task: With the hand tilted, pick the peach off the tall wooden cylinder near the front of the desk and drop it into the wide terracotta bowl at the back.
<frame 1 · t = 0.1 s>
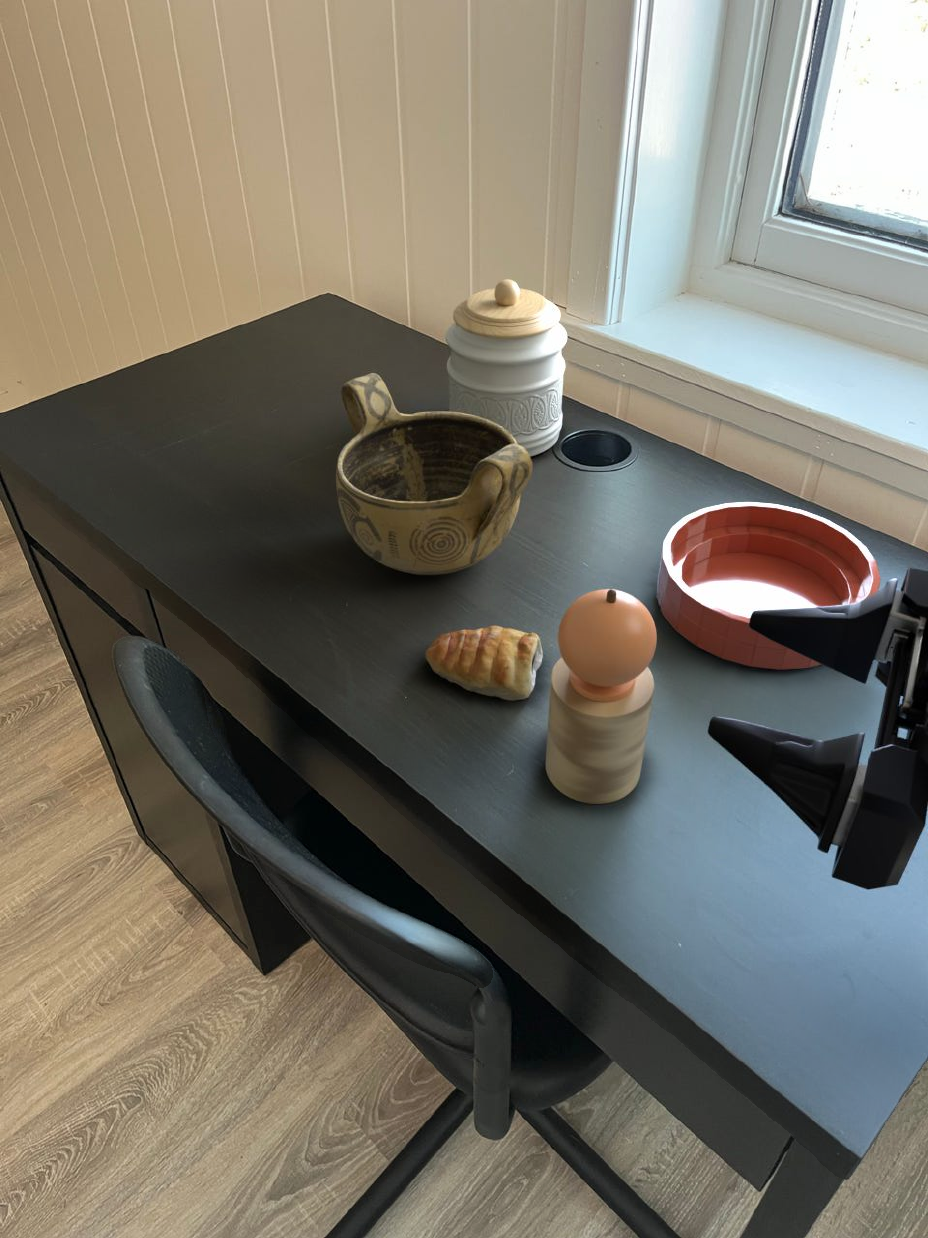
hand: (731, 668, 51), 19 cm above the table, tool horizontal, fingers open, 9 cm apart
peach: (602, 679, 64), point 9 cm above the table, touching wooden cylinder
pastry: (491, 675, 78), on the table
wooden cylinder: (592, 766, 70), on the table
ceramic bowl: (433, 554, 91), on the table
bowl: (758, 605, 84), on the table
jar: (504, 434, 108), on the table
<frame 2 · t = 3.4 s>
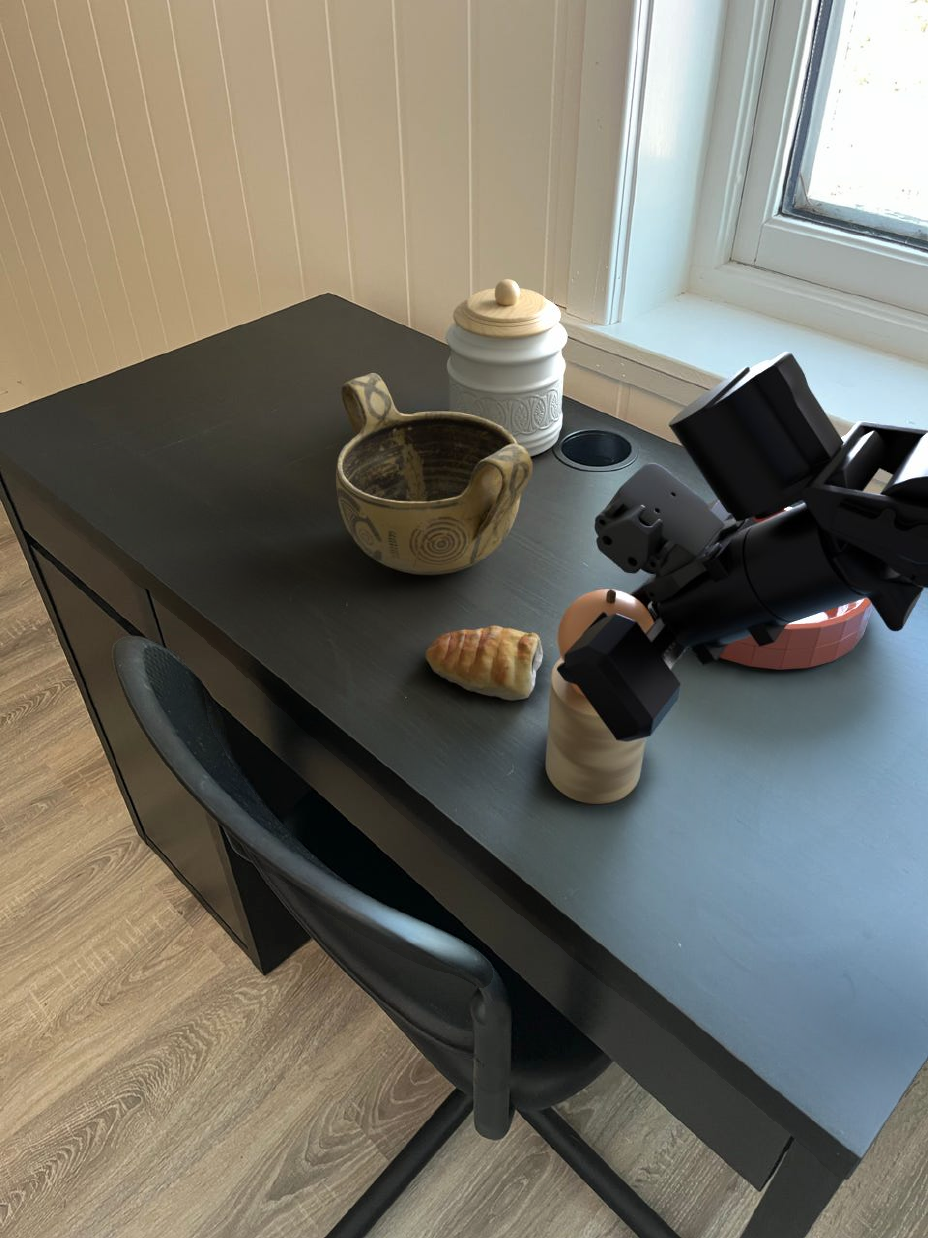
hand: (587, 645, 63), 11 cm above the table, tool tilted 45°, fingers closed on peach, 6 cm apart
peach: (602, 679, 64), point 9 cm above the table, touching wooden cylinder, gripper
everything else where it was.
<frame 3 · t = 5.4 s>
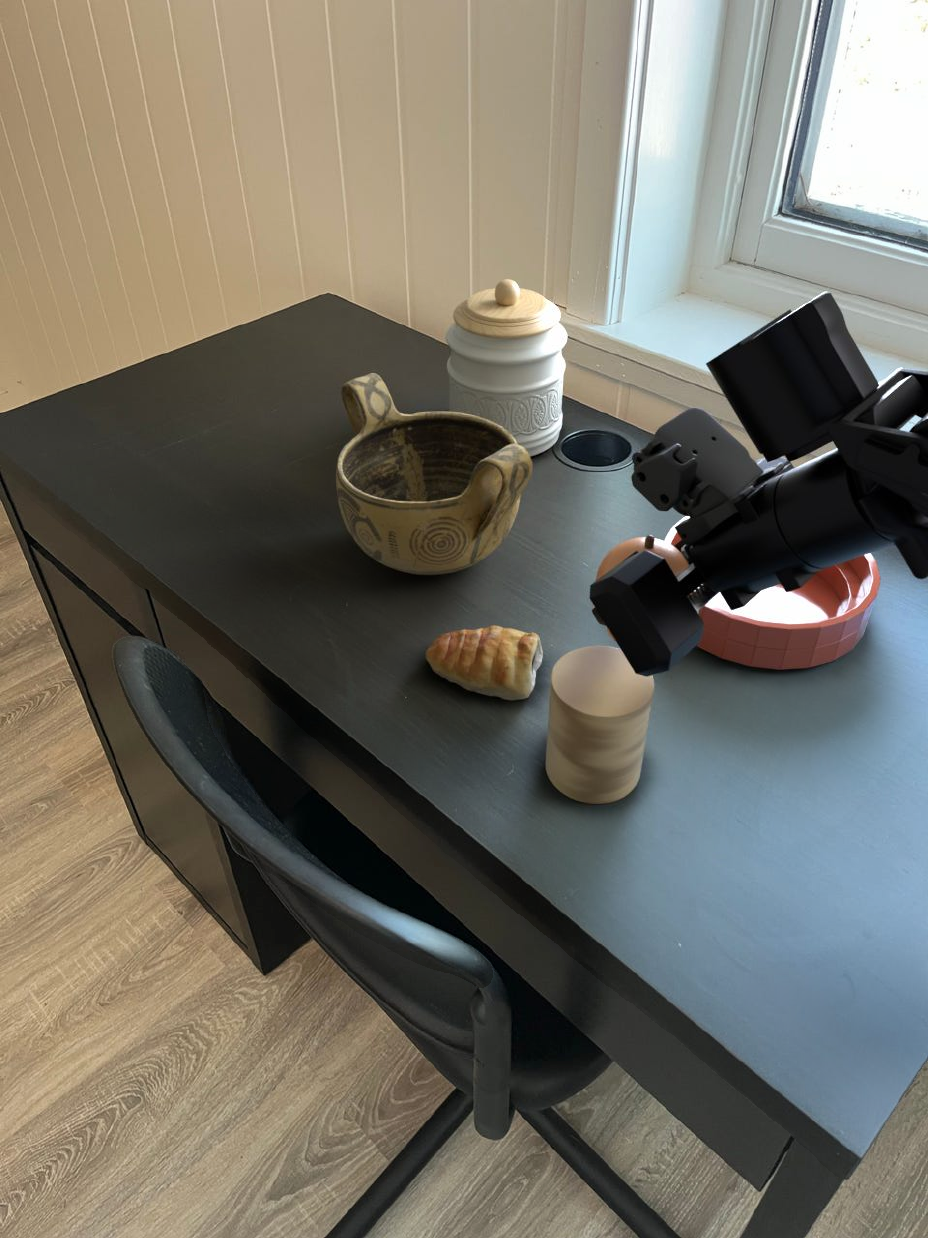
hand: (625, 592, 64), 13 cm above the table, tool tilted 45°, fingers closed on peach, 6 cm apart
peach: (638, 628, 65), point 11 cm above the table, touching gripper
everything else where it was.
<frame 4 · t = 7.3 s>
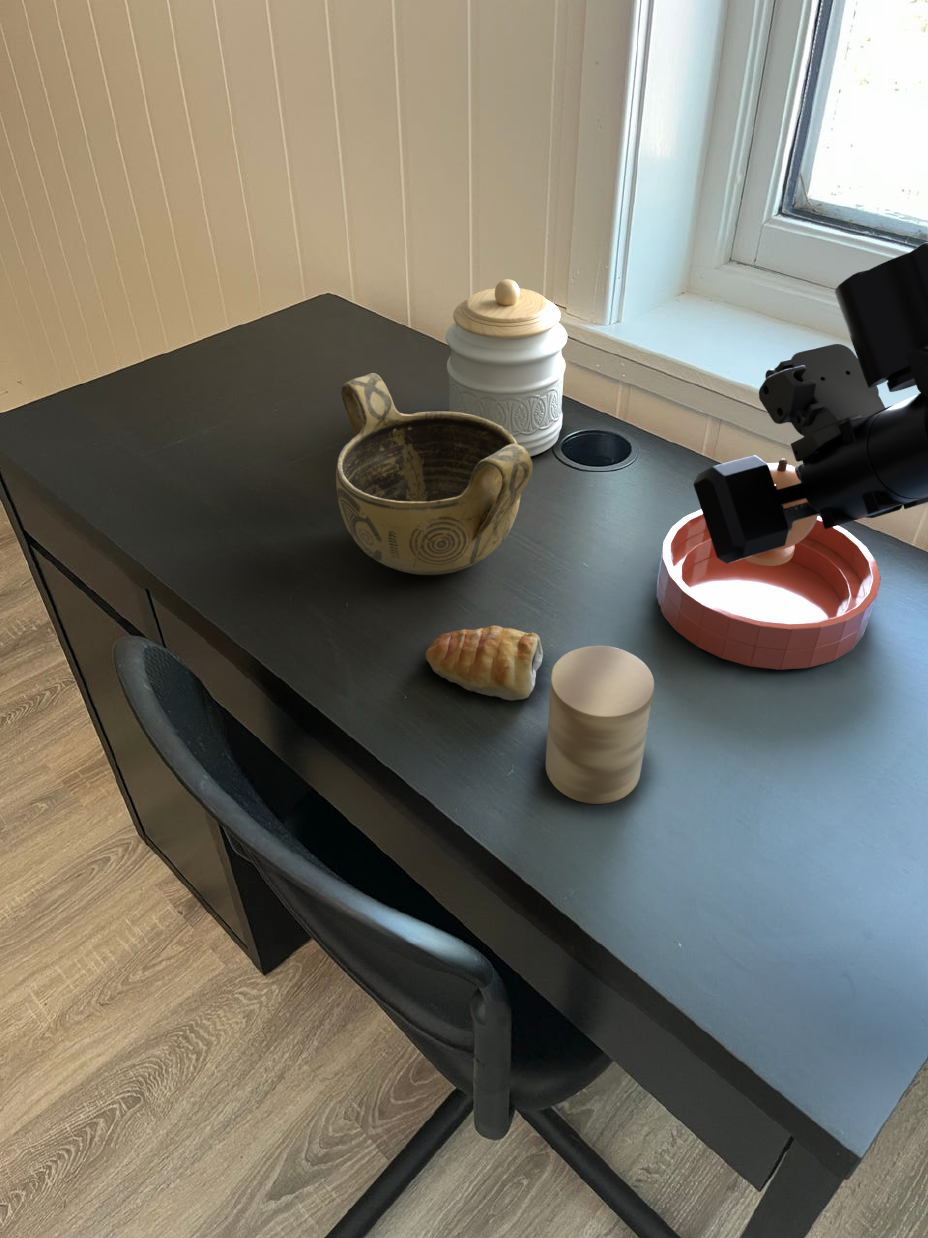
hand: (758, 513, 71), 14 cm above the table, tool tilted 45°, fingers closed on peach, 6 cm apart
peach: (763, 548, 72), point 11 cm above the table, touching gripper
everything else where it was.
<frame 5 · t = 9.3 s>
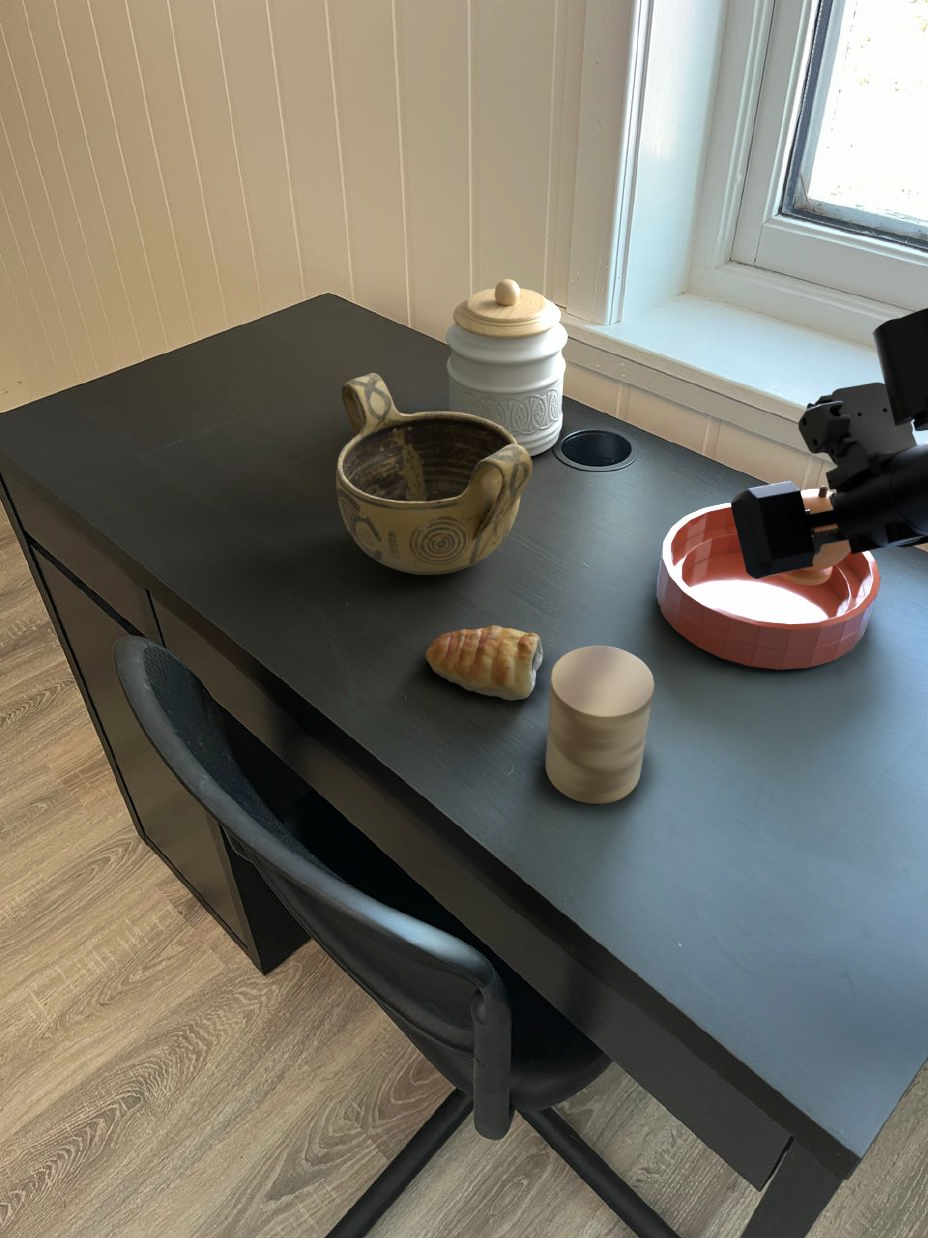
hand: (799, 535, 76), 10 cm above the table, tool tilted 45°, fingers closed on peach, 6 cm apart
peach: (802, 569, 76), point 7 cm above the table, touching gripper
everything else where it was.
when the fingers open (6 cm above the table, at t = 11.0 s): peach drops 3 cm, resting on bowl.
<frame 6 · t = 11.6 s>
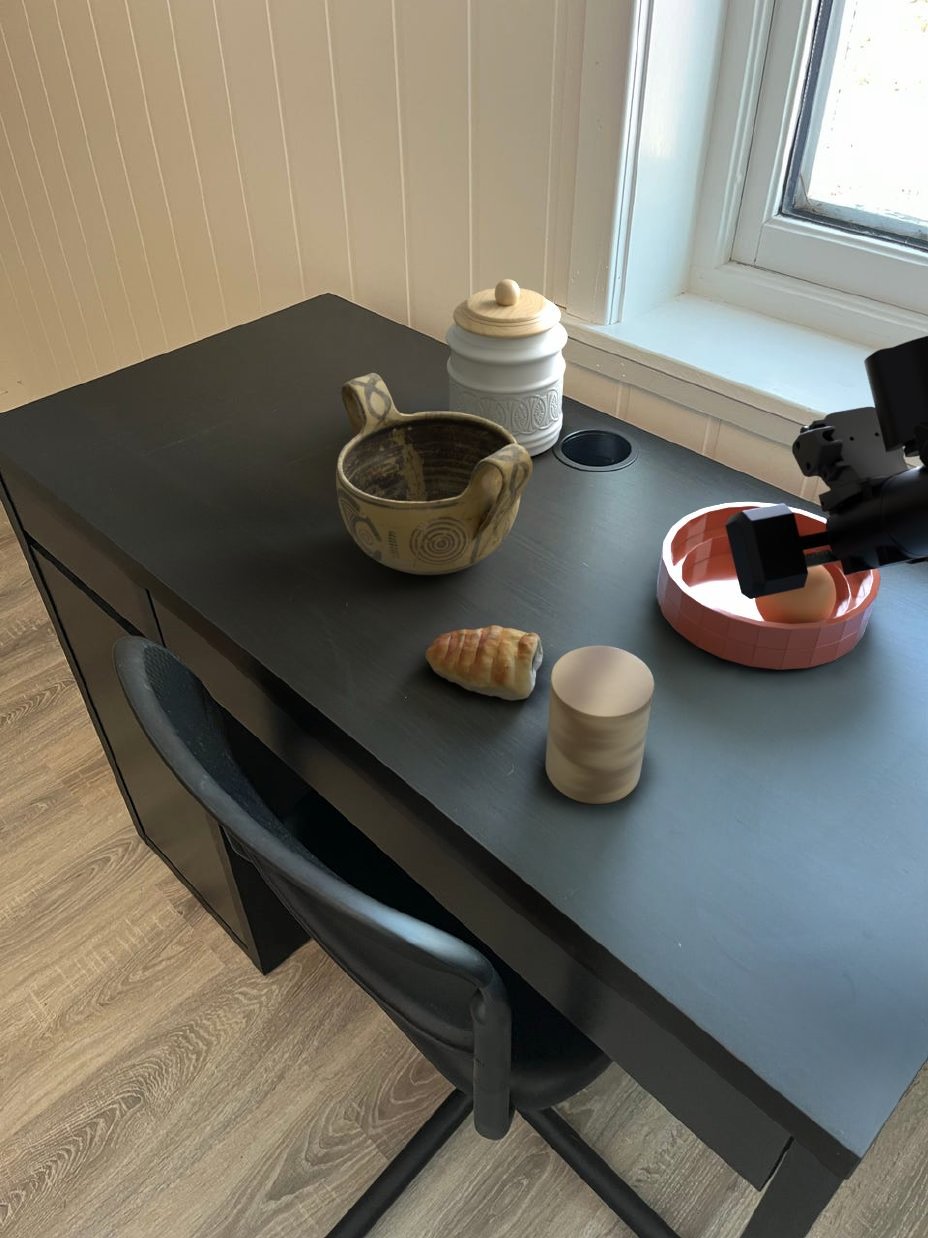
hand: (793, 553, 77), 8 cm above the table, tool tilted 45°, fingers open, 9 cm apart
peach: (786, 630, 80), point 1 cm above the table, touching bowl
everything else where it was.
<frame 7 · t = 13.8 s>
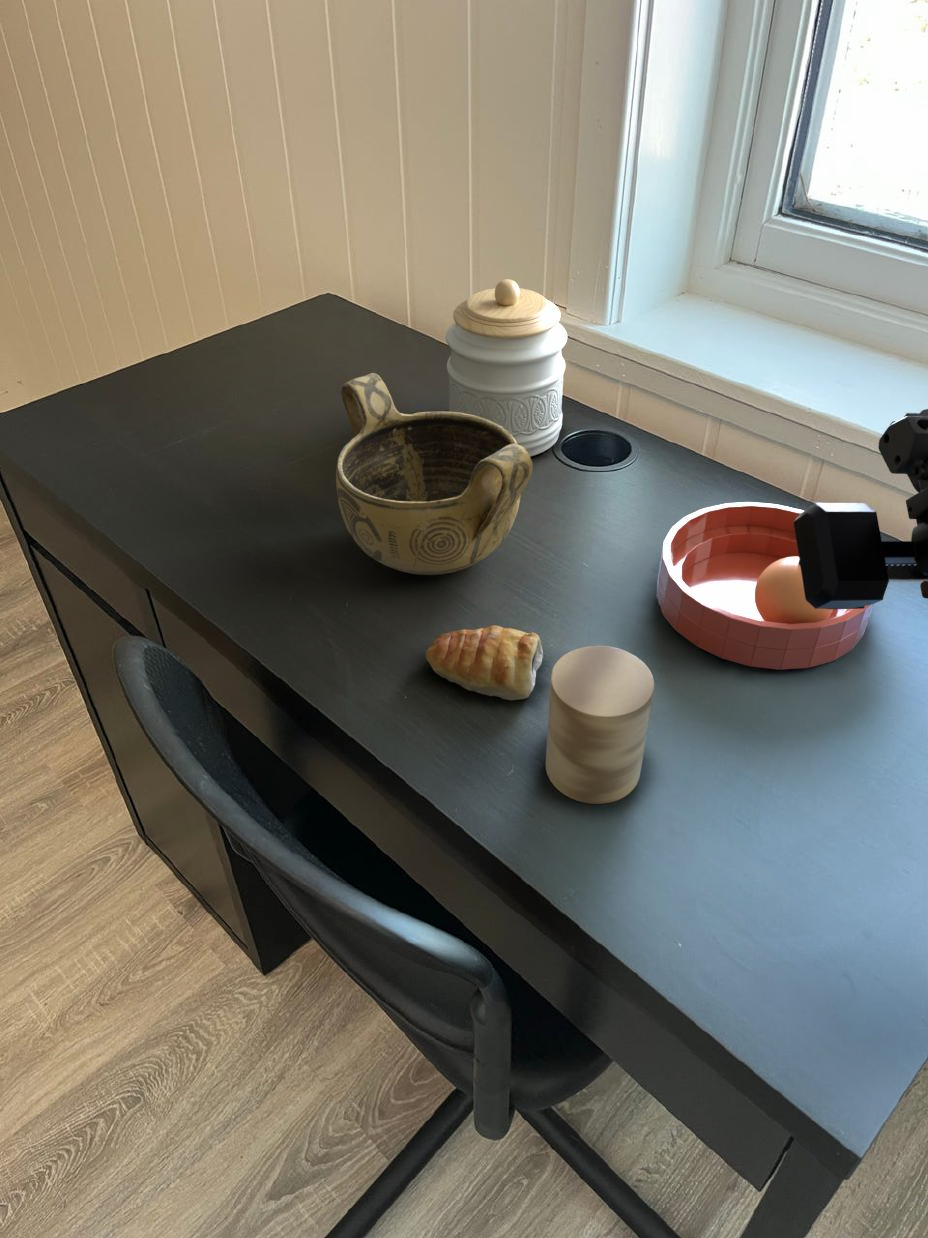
hand: (865, 591, 67), 12 cm above the table, tool tilted 35°, fingers open, 9 cm apart
nothing on the table moved.
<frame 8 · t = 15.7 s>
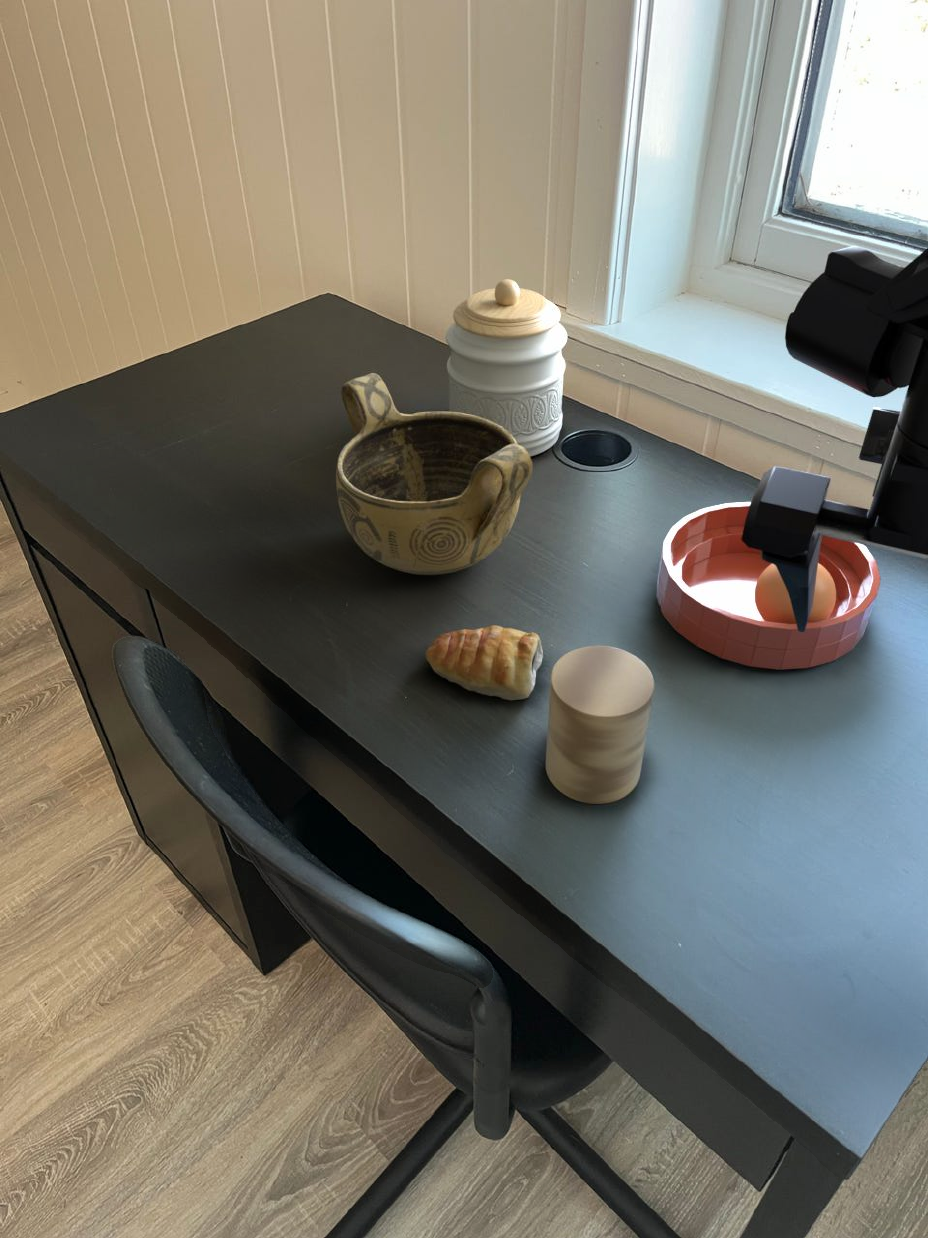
hand: (875, 647, 60), 13 cm above the table, tool pointing down, fingers open, 9 cm apart
nothing on the table moved.
at the end: peach inside the target area in the bowl (4.5 cm from its centre), point 0.7 cm above the bowl's base; the gripper is holding nothing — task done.
